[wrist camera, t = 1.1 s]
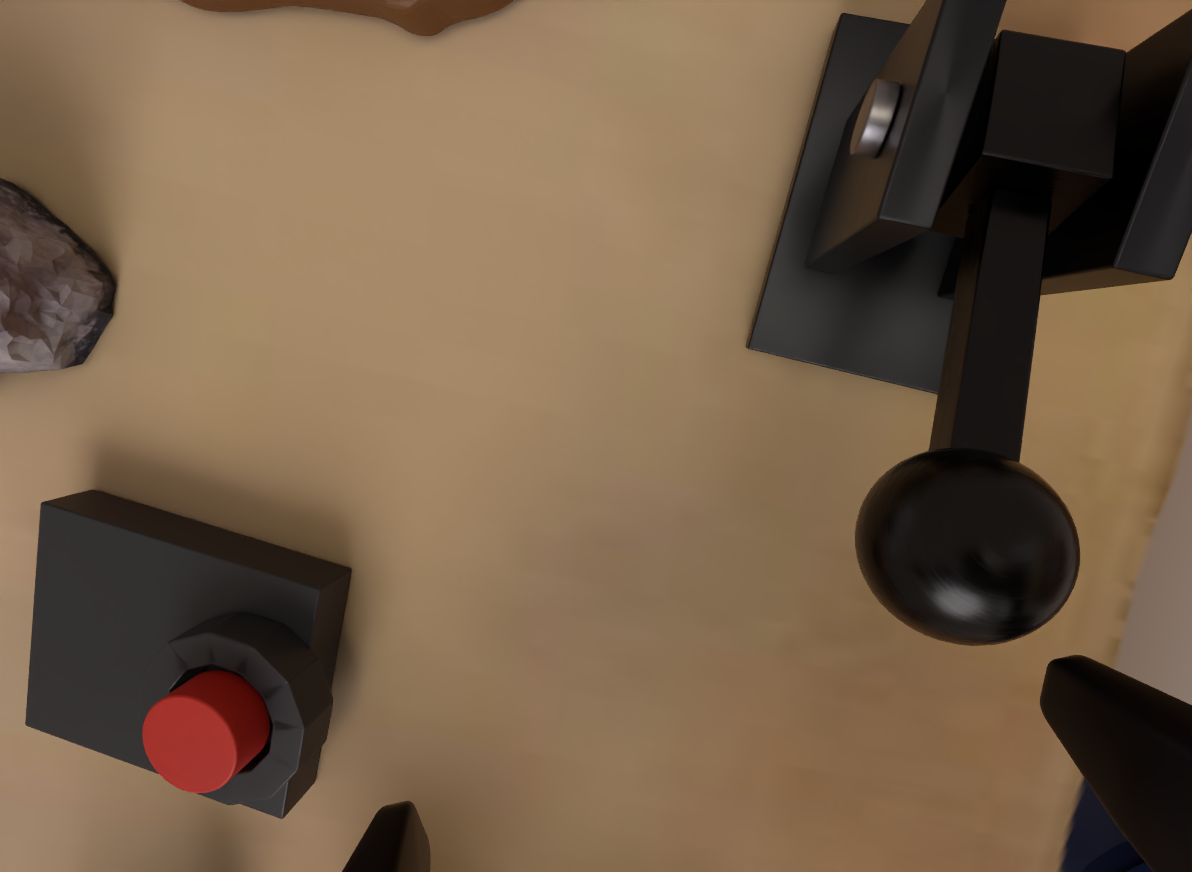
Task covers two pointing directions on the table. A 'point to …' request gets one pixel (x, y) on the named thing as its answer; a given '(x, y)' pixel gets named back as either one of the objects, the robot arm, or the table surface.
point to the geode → (46, 288)
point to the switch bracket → (918, 181)
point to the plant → (378, 10)
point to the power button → (206, 731)
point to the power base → (180, 634)
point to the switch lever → (996, 358)
